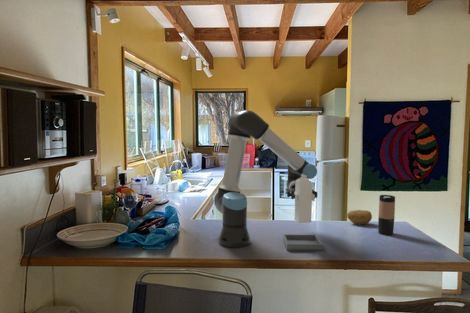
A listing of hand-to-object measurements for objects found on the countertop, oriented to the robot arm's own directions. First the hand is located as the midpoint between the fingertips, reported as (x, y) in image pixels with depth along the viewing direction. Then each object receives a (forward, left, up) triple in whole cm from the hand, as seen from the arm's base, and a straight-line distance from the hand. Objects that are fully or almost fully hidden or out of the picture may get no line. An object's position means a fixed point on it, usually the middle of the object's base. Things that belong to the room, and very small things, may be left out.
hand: (305, 198), depth 145 cm
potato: (+40, +42, -24) cm, 63 cm away
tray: (0, +5, -24) cm, 24 cm away
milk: (0, +5, -12) cm, 13 cm away
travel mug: (+48, +25, -24) cm, 59 cm away
